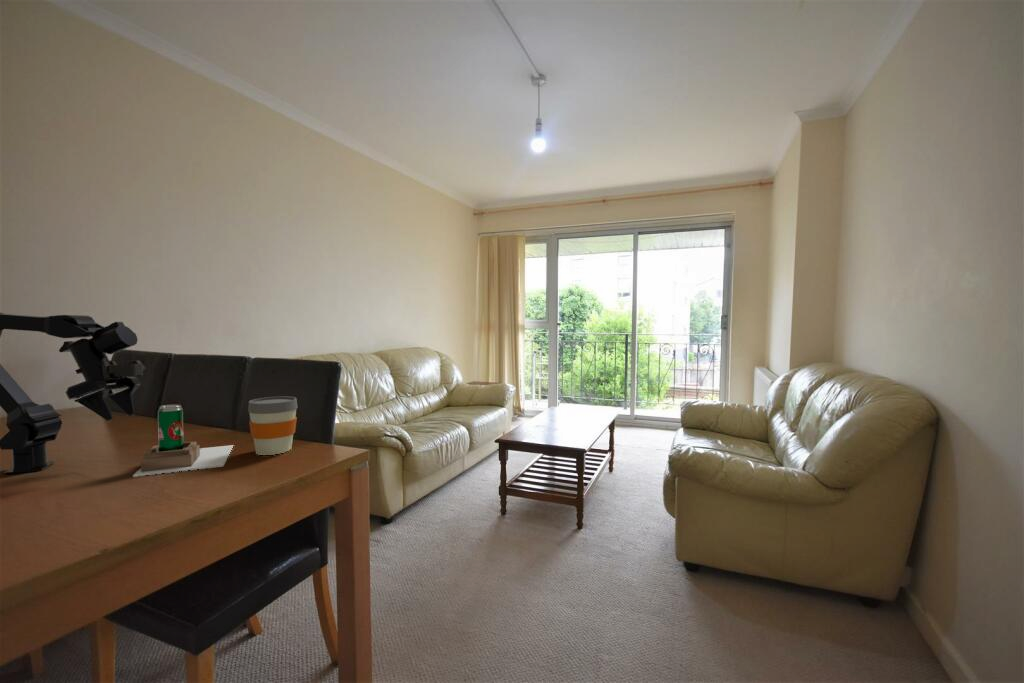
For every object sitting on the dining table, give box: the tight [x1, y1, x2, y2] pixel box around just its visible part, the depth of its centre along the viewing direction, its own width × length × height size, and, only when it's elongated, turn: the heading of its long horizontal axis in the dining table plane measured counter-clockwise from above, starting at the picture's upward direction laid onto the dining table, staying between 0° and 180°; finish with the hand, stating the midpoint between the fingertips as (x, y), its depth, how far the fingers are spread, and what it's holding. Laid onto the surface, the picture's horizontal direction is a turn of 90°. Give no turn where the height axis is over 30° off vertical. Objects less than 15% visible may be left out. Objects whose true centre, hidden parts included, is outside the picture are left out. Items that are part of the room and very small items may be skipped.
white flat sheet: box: [132, 444, 235, 478], centre depth 114 cm, size 20×18×1 cm
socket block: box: [140, 440, 201, 472], centre depth 110 cm, size 10×10×5 cm
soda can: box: [157, 404, 185, 452], centre depth 110 cm, size 5×5×12 cm
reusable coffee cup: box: [247, 395, 298, 456], centre depth 122 cm, size 12×13×15 cm
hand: (121, 417), depth 108 cm, fingers open, 9 cm apart
